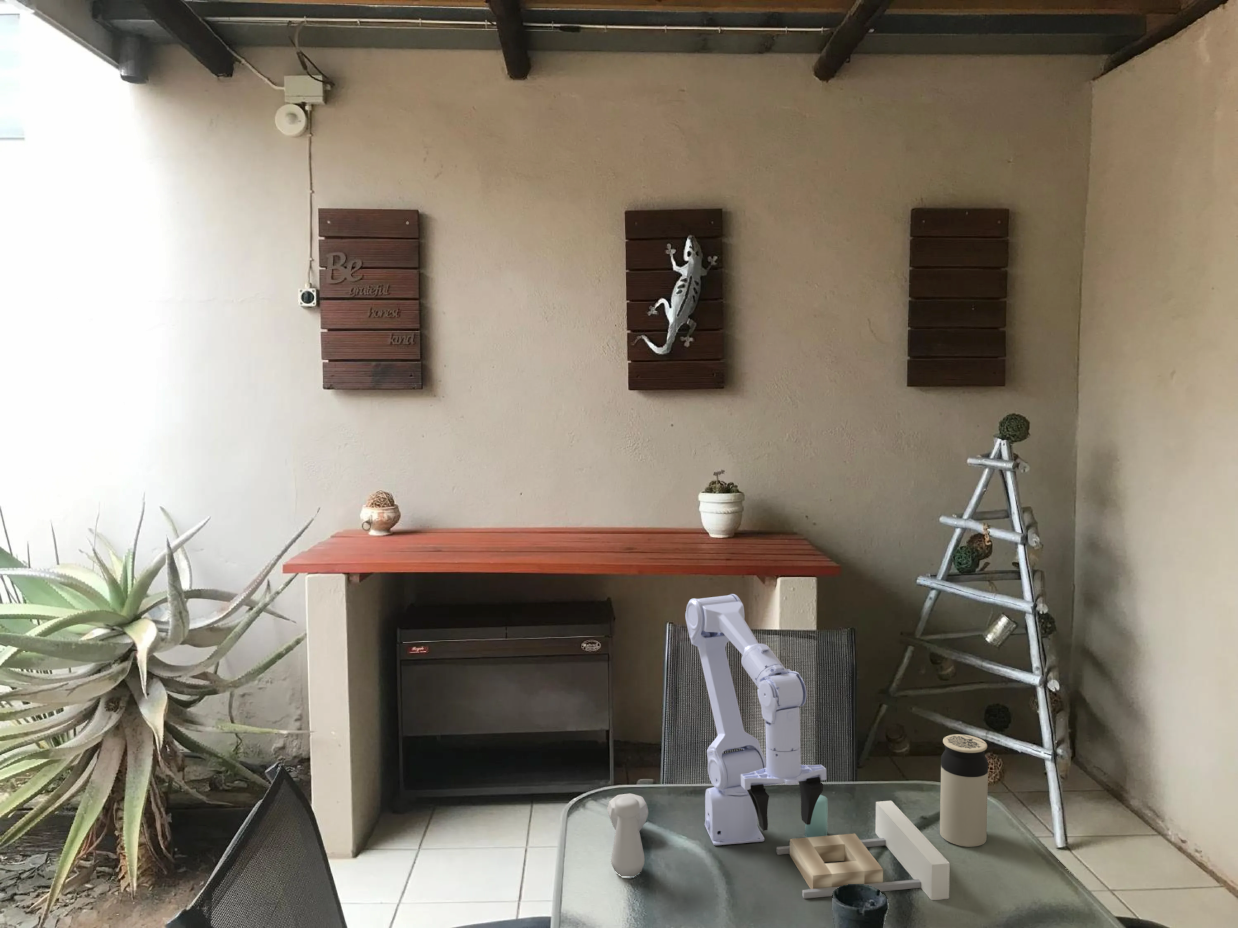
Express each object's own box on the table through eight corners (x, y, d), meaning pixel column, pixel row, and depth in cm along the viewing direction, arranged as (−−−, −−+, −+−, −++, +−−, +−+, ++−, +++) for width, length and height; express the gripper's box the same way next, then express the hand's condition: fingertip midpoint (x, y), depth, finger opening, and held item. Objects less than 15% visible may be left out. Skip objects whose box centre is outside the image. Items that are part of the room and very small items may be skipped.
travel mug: (962, 852, 162) (964, 753, 160) (930, 831, 169) (931, 737, 167) (996, 842, 165) (998, 745, 163) (963, 822, 172) (965, 730, 170)
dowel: (809, 841, 166) (809, 804, 165) (802, 830, 170) (802, 794, 169) (830, 839, 167) (830, 802, 166) (822, 828, 171) (823, 792, 170)
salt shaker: (606, 867, 158) (604, 795, 157) (636, 860, 160) (635, 789, 159) (619, 884, 153) (618, 810, 152) (650, 876, 155) (649, 803, 154)
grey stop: (811, 911, 144) (811, 875, 144) (770, 841, 166) (770, 810, 166) (948, 898, 147) (949, 862, 147) (890, 831, 169) (891, 800, 169)
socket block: (812, 892, 150) (812, 875, 149) (789, 854, 161) (789, 838, 161) (882, 886, 151) (883, 868, 151) (854, 849, 163) (854, 833, 163)
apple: (645, 843, 166) (645, 809, 166) (603, 840, 168) (602, 806, 167) (651, 822, 174) (651, 789, 173) (611, 819, 175) (610, 786, 175)
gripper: (750, 759, 147) (752, 841, 148) (833, 749, 150) (835, 829, 151) (735, 743, 154) (737, 822, 155) (815, 734, 157) (817, 811, 158)
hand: (784, 824), depth 153 cm, fingers open, 7 cm apart
